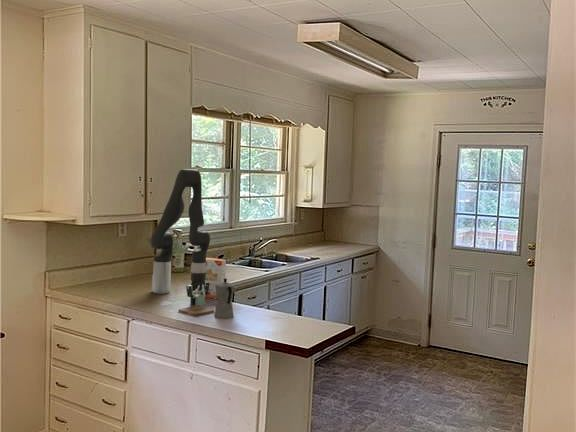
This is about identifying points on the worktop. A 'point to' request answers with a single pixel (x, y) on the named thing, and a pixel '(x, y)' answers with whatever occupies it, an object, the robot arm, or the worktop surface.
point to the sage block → (199, 300)
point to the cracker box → (214, 275)
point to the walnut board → (196, 311)
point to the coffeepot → (224, 300)
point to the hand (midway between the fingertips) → (197, 304)
